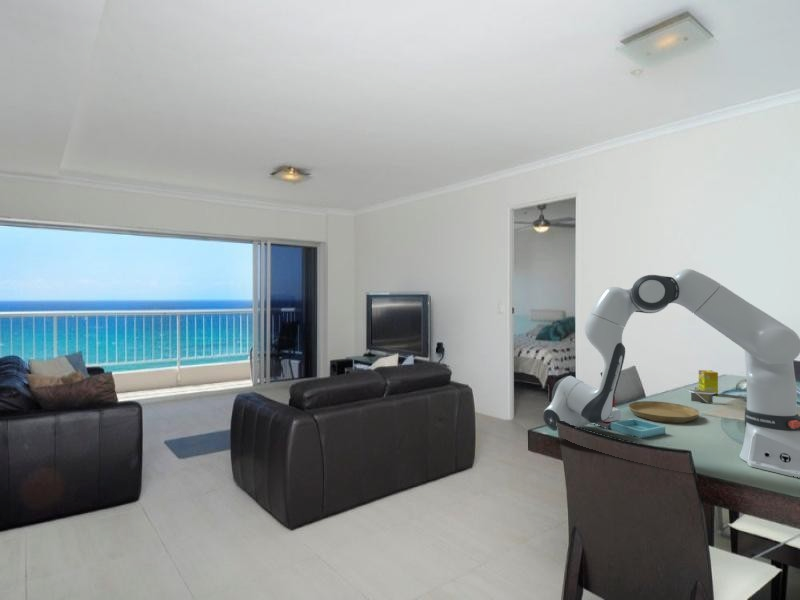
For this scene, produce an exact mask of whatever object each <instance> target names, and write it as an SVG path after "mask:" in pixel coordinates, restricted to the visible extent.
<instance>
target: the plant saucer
mask: <svg viewBox="0 0 800 600" xmlns="http://www.w3.org/2000/svg"><path fill="white" fill-rule="evenodd" d="M627 406H628V409H629V410H630V411H631V413H633V414H634V415H635V416H637V417H638V416H639V418H641V417H642V419H644V418H645V419H644V420H648V419H649V421H654V422H658V423H659V422H661V423H675V424H676V423H677V424H679V423H681V424H682V423H683V424H684V423H689V422H692V421H693V420H695V419H696V418H698V416H699V414H700V411H699V410H697V409H696V408H693V407H692V406H688V405H684V404H680V403H673V402H665V401H657V400H656V401H655V400H651V401H650V400H649V401H647V400H644V401H643V400H641V401H633V402H630V403H628V405H627Z"/></svg>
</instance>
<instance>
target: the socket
mask: <svg viewBox="0 0 800 600" xmlns="http://www.w3.org/2000/svg"><path fill="white" fill-rule="evenodd" d="M617 421H621V419H620V420H617ZM615 422H616V421H615ZM595 424H598V425H600V426H603V427H606V428H611V423H610V424H605V423H602V422H599V423H595Z"/></svg>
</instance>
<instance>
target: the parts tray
mask: <svg viewBox="0 0 800 600" xmlns="http://www.w3.org/2000/svg"><path fill="white" fill-rule="evenodd" d="M611 429H613V430H616V431H615V432H617V431H618V432H617V433H620V432H622V433H621V434H624V433H625V434H624V435H627V434H629V435H628V436H630V435H633V436H632V437H634V436H636V437H635V438H637V437H640V438H644V439H648V438H647V437H649V438H653V437H656V436H662V435H666V426H664V425H660V424H656V423H653V422H649V421H647V420H646V421H645V420H642V419H638V418H628V419H623V420H620V421H616V422H611ZM611 429H610V430H611ZM613 430H612V431H613ZM640 438H639V439H640Z"/></svg>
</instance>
